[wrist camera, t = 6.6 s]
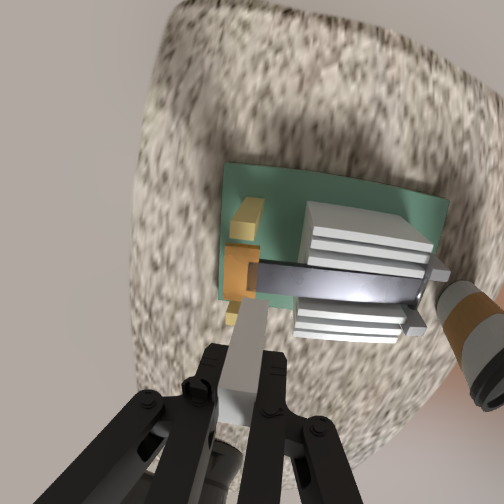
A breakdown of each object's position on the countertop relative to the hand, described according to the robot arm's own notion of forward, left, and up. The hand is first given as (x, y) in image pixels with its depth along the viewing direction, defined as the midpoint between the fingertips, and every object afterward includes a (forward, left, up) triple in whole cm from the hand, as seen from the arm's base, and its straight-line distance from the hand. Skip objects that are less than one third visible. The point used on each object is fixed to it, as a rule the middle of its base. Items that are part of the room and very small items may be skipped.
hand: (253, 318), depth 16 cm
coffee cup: (+19, -16, -12) cm, 28 cm away
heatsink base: (+6, -3, -12) cm, 14 cm away
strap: (+5, -2, -5) cm, 8 cm away
